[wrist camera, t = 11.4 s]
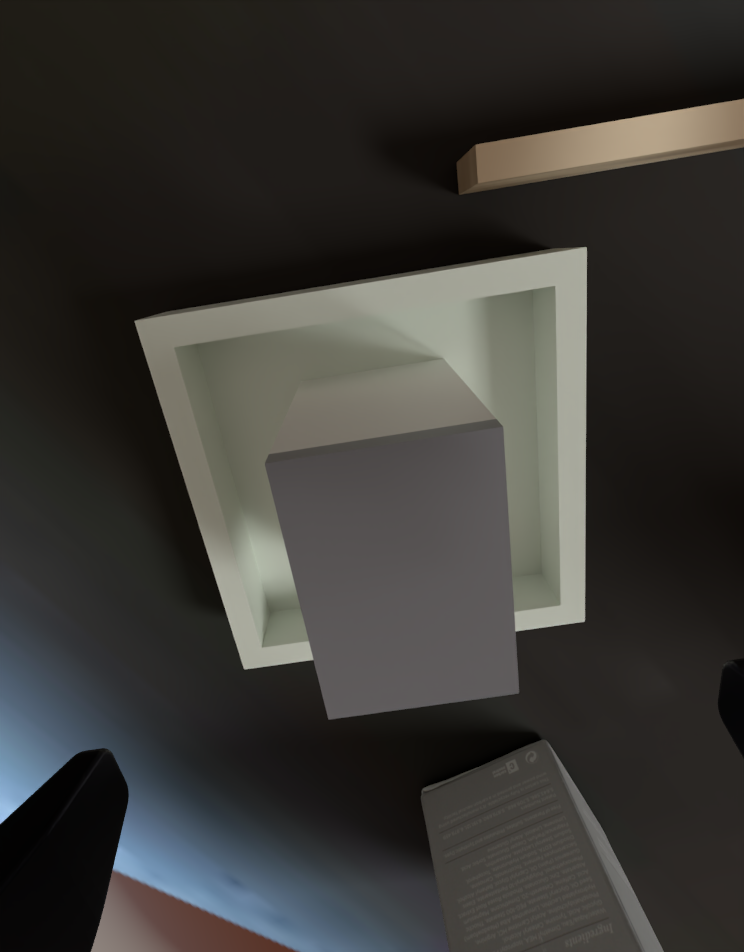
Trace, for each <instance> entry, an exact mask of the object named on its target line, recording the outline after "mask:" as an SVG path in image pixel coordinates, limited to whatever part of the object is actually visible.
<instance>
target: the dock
mask: <svg viewBox="0 0 744 952" xmlns="http://www.w3.org/2000/svg"><path fill="white" fill-rule="evenodd" d="M742 147H744V99H740V100H734V101H728V102H723V103H717V104H711V105H705V106H699V107H693V108H687V109H682V110H676V111H670V112H664V113H658V114H652V115H646V116H640V117H635V118H629V119H623V120H617V121H611V122H605V123H599V124H594V125H588V126H582V127H576V128H570V129H564V130H558V131H553V132H547V133H541V134H535V135H529V136H523V137H517V138H511V139H506V140H500V141H494V142H488V143H482V144H476V145H475V146H474V147H472V148H471V149H470V150H469V151H468V152H467V153H466V154H465V155H464V156H463V157H462V158H461V159H460V160H459V161H458V162H457V176H458V188H459V195H462V194H468V193H474V192H480V191H486V190H492V189H497V188H503V187H509V186H515V185H521V184H527V183H533V182H539V181H545V180H551V179H557V178H563V177H569V176H575V175H581V174H587V173H593V172H599V171H605V170H611V169H617V168H623V167H629V166H635V165H641V164H647V163H653V162H659V161H664V160H670V159H676V158H682V157H688V156H694V155H700V154H706V153H712V152H718V151H724V150H730V149H736V148H742Z"/></svg>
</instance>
